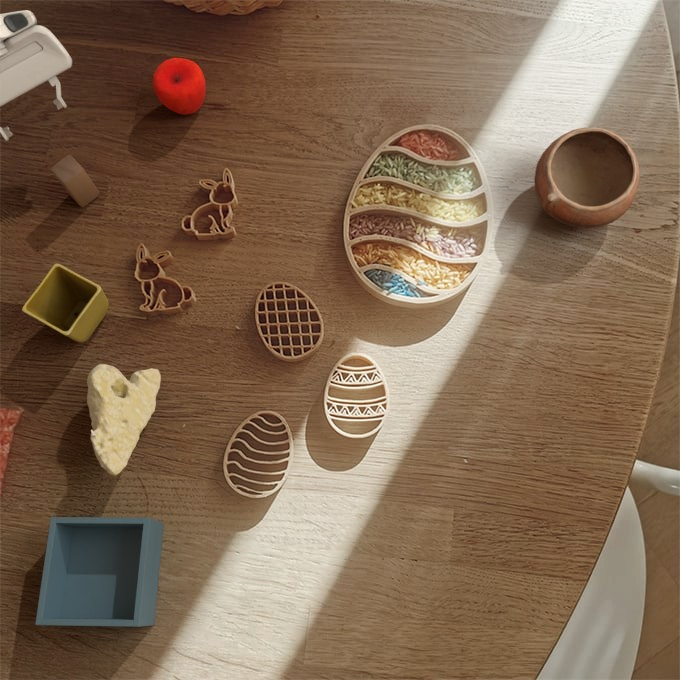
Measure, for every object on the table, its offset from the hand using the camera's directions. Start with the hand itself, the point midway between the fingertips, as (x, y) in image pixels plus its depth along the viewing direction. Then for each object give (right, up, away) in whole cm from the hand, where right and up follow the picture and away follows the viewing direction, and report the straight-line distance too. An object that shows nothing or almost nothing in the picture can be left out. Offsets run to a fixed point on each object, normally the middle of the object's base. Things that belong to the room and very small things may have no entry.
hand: (37, 123), depth 116 cm
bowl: (+87, -11, +3) cm, 88 cm away
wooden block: (+5, -10, +8) cm, 13 cm away
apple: (+21, +7, +13) cm, 26 cm away
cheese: (+17, -47, -6) cm, 51 cm away
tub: (+16, -67, -14) cm, 70 cm away
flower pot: (+8, -31, 0) cm, 32 cm away
